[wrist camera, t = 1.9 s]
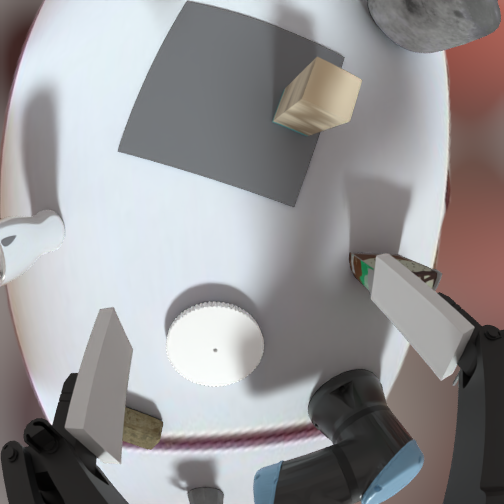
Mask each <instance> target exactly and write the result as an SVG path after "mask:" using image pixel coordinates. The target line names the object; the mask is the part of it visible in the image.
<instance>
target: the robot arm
mask: <svg viewBox="0 0 504 504" xmlns="http://www.w3.org/2000/svg"><path fill="white" fill-rule="evenodd" d="M371 300H372V301H373V302H374V303H375V304H376V305H377V306H378V308H379V309H380V310H381V311H382V312H383V313H384V314H385V315H386V317H387V318H388V319H389V320H390V321H391V322H392V323H393V324H394V326H395V327H396V328H397V329H398V330H399V331H400V332H401V334H402V335H403V336H404V337H405V338H406V339H407V341H408V342H409V343H410V344H411V345H412V346H413V348H414V349H415V350H416V351H417V352H418V354H419V355H420V356H421V357H422V358H423V360H424V361H425V362H426V363H427V364H428V366H429V367H430V368H431V369H432V370H433V372H434V373H435V374H436V375H437V377H438V378H439V379H440V380H443V379H444V378H446V377H448V376H449V375H451V374H452V373H453V371H454V370H455V368H456V366H457V364H458V365H459V367H460V368H461V369H460V371H459V373H458V375H457V376H456V378H455V380H454V382H453V385H455V384H456V382H457V381H458V379H459V384H458V386H459V390H458V413H457V425H456V435H455V444H454V451H453V458H452V464H451V470H450V475H449V480H448V484H447V489H446V493H445V498H444V502H443V504H504V330H499V329H498V328H496V327H494V326H491V325H485V326H481V325H480V324H479V323H478V322H476V320H474V319H473V318H472V317H471V316H470V315H469V314H468V313H467V312H465V311H464V310H463V309H461V307H460V306H459V305H457V304H456V303H455V302H454V301H453V300H452V299H451V298H450V297H448V296H446V295H444V294H442V293H440V292H439V293H436V292H435V291H434V290H433V289H432V288H430V287H429V286H428V285H427V284H426V283H424V282H423V281H422V280H421V279H420V278H418V277H417V276H416V275H415V274H414V273H412V272H411V271H410V270H409V269H407V268H406V267H405V266H404V265H402V264H401V263H400V262H399V261H397V260H396V259H395V258H394V257H392V256H391V255H390V254H388V253H385V254H381V255H377V256H376V262H375V271H374V279H373V287H372V294H371ZM132 352H133V348H132V346H131V344H130V342H129V340H128V338H127V336H126V334H125V331H124V329H123V327H122V325H121V323H120V320H119V318H118V316H117V314H116V311H115V309H114V307H111V308H105V309H100V310H99V313H98V316H97V318H96V321H95V324H94V327H93V329H92V332H91V335H90V338H89V341H88V344H87V347H86V350H85V353H84V356H83V360H82V363H81V366H80V369H79V373H71V374H70V375H69V377H68V378H67V379H66V381H65V382H64V385H63V388H62V392H61V393H62V394H61V395H60V398H59V402H58V406H57V409H56V413H55V417H54V421H53V425H51V424H50V423H49V422H48V421H47V420H45V419H42V418H37V419H35V420H32V421H31V422H30V423H29V424H28V425H27V426H26V429H25V430H24V441H25V442H26V443H27V444H28V445H29V446H28V447H23V446H22V445H21V444H19V443H18V442H16V441H10V442H8V443H6V444H5V445H4V447H3V449H2V451H1V463H2V470H3V476H4V481H5V487H6V492H7V497H8V501H9V504H129V503H128V502H127V501H126V500H125V499H124V498H123V497H122V495H121V494H120V493H119V492H118V491H117V490H116V488H115V487H114V486H113V485H112V483H111V482H110V481H109V480H108V478H107V477H106V476H105V475H104V473H103V472H102V471H101V469H100V468H99V467H98V466H97V465H96V458H98V459H99V460H100V461H102V462H103V463H108V464H121V454H122V438H123V425H124V414H125V404H126V395H127V387H128V379H129V372H130V365H131V359H132ZM308 414H309V417H310V419H311V421H312V423H313V425H314V426H315V427H316V428H317V429H318V430H320V431H321V432H322V433H323V434H324V435H325V436H326V437H327V438H329V439H330V440H331V441H332V443H333V444H334V445H332V446H329V447H326V448H323V449H321V450H318V451H315V452H312V453H309V454H306V455H303V456H300V457H297V458H294V459H291V460H287V461H280V462H279V463H276V464H273V465H270V466H267V467H264V468H261V469H260V470H258V471H257V473H256V474H255V477H254V485H253V490H254V502H255V504H354V503H356V502H359V501H361V503H362V504H379V503H381V502H383V501H385V500H387V499H388V498H390V497H391V496H393V495H394V494H396V493H397V492H399V491H400V490H401V489H402V488H404V487H405V486H406V485H407V484H408V483H409V482H410V481H411V480H412V479H413V478H414V477H415V476H416V475H417V473H418V472H419V471H420V469H421V467H422V465H423V462H424V455H423V453H422V452H421V450H420V449H419V447H418V445H417V444H416V441H415V440H413V438H412V437H411V436H410V434H409V433H408V432H407V431H406V429H405V428H404V427H403V426H402V424H401V423H400V422H399V420H398V419H397V418H396V417H395V415H394V414H393V413H392V412H391V410H390V409H389V408H388V406H387V403H386V399H385V396H384V393H383V388H382V384H381V383H380V381H379V380H378V378H377V377H376V376H375V375H374V374H373V373H372V372H370V371H367V370H352V371H348V372H345V373H343V374H340V375H338V376H336V377H334V378H333V379H331V380H329V381H328V382H327V383H325V384H324V385H323V386H322V387H321V388H320V389H319V390H318V391H317V392H316V393H315V394H314V396H313V397H312V399H311V401H310V403H309V407H308Z"/></svg>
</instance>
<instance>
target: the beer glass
mask: <svg viewBox="0 0 504 504" xmlns="http://www.w3.org/2000/svg"><path fill="white" fill-rule="evenodd" d="M64 237H65V228H64V224H63V221H62V219H61V218H60V216H59V215H58V214H57V213H56V212H54V211H52V210H42V211H40V212H38V213H37V214H36V215H34V216H8V217H4V218H0V287H1V286H3V285H5V284H7V283H9V282H11V281H13V280H15V279H16V278H18V277H19V276H21V275H22V274H24V273H25V272H26V271H27V270H28V269H29V268H30V267H31V266H32V265H33V264H34V263H35V262H36V261H37V260H38V259H39V258H40V257H41V256H42V255H43V254H45V253H50V252H53V251H56V250H57V249H58V248H59V247H60V246H61V245H62V243H63V241H64Z"/></svg>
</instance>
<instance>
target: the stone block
mask: <svg viewBox="0 0 504 504" xmlns="http://www.w3.org/2000/svg"><path fill="white" fill-rule="evenodd" d="M162 427H163V422H162V421H160V420H159V419H157V418H154V417H151V416H150V415H147V414H144V413H141V412H138V411H136V410H133V409H130V408H127V407H125V414H124V425H123V438H122V441H125V442H128V443H131V444H134V445H137V446H139V447H143V448H146V449H153V448H154V446H155V445H156V444H157V443H158V442H159V441H160V438H161V432H162Z"/></svg>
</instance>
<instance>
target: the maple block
mask: <svg viewBox="0 0 504 504" xmlns="http://www.w3.org/2000/svg"><path fill="white" fill-rule="evenodd" d="M361 83H362V80H361V79H360V78H358V77H356V76H354V75H352V74H351V73H349V72H347V71H345V70H343V69H341V68H339V67H337V66H335V65H334V64H332V63H330V62H328V61H325V60H323V59H321V58H319V57H316V58H315V59H314V60H313V61H312V62H311V63H310V64H309V65H308V66H307V67H306V68H305V69H304V70H303V71H302V72H301V73H300V74H299V75H298V76H297V77H296V78H295V79H294V80H293V81H292V82H291V83H290V84H289V85H288V86H287V87H286V88H285V89H284V91H283V94H282V96H281V99H280V102H279V104H278V107H277V110H276V112H275V115H274V118H273V121H272V122H273V123H276V124H278V125H281V126H283V127H286V128H288V129H291V130H293V131H295V132H298V133H300V134H302V135H305V136H310V135H313V134H316V133H318V132H321V131H324V130H327V129H330V128H333V127H336V126H339V125H341V124H344V123H348V122H350V120H351V116H352V113H353V110H354V106H355V103H356V100H357V96H358V93H359V90H360V86H361Z"/></svg>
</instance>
